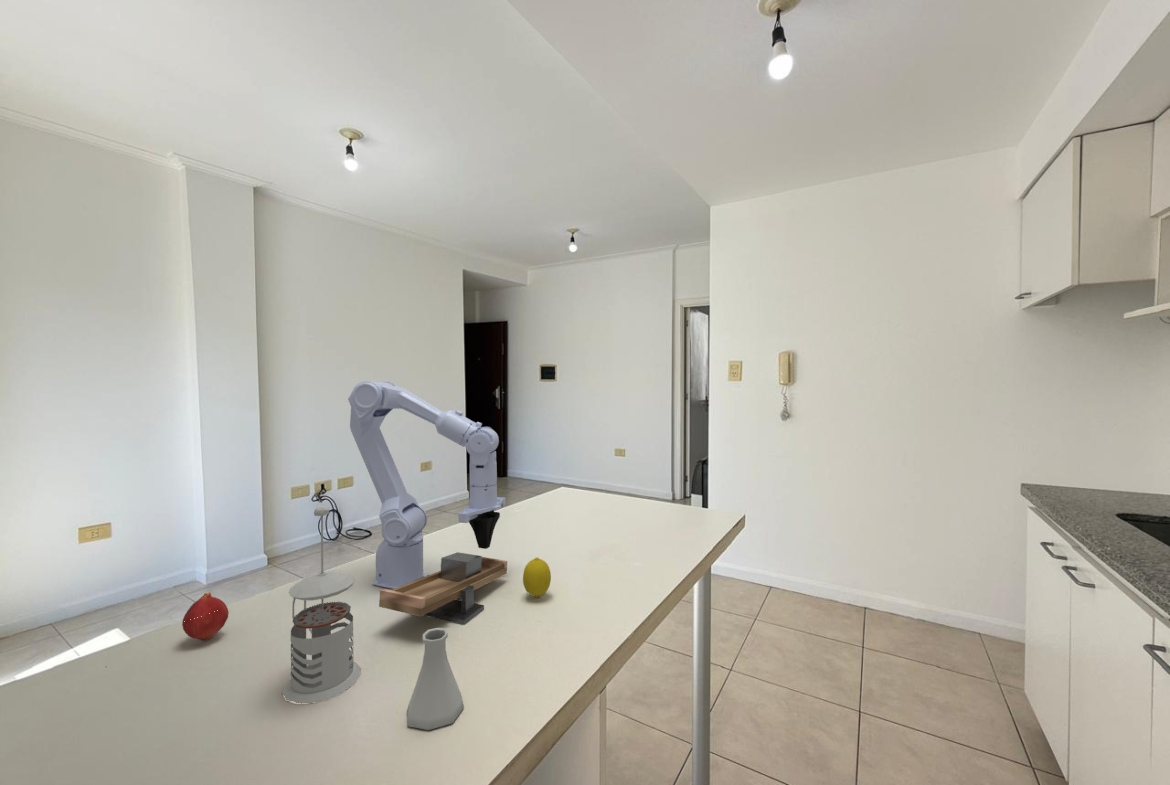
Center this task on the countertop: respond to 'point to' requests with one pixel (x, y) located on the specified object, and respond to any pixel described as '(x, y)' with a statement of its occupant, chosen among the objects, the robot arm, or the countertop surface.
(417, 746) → the countertop surface
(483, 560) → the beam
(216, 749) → the countertop surface
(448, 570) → the steel block
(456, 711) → the flask
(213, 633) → the red pomegranate
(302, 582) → the french press
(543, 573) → the lemon
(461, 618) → the pivot stand
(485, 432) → the robot arm
